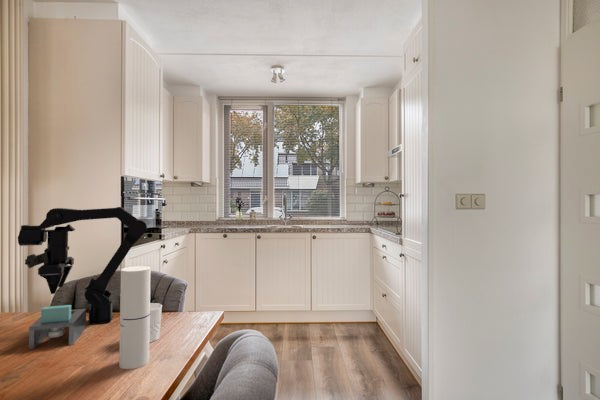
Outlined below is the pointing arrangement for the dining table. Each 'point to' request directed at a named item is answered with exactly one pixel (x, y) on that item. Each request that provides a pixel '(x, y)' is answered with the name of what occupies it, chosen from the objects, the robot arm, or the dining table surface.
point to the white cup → (155, 321)
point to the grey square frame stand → (74, 323)
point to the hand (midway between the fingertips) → (56, 290)
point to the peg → (55, 318)
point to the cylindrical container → (134, 317)
